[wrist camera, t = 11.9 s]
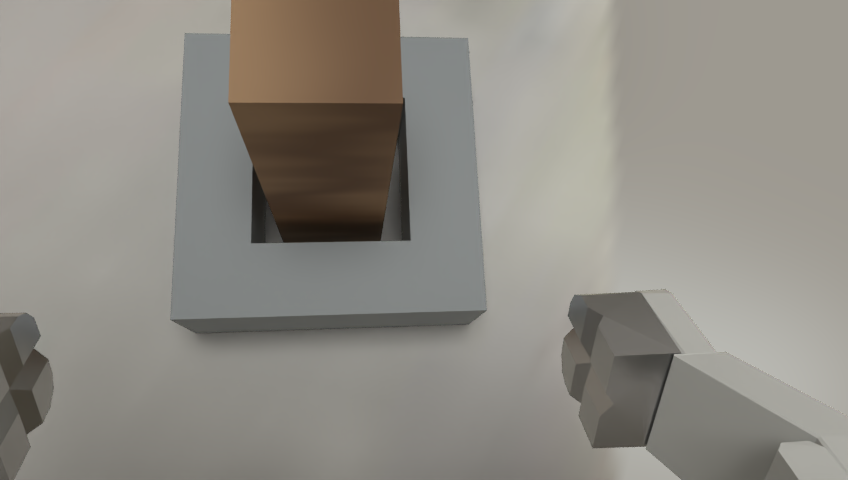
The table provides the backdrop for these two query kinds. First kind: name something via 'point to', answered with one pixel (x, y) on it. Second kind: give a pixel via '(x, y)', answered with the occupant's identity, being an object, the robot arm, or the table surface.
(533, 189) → the table surface
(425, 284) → the slate socket
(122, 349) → the table surface
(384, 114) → the walnut peg
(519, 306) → the table surface
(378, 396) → the table surface
